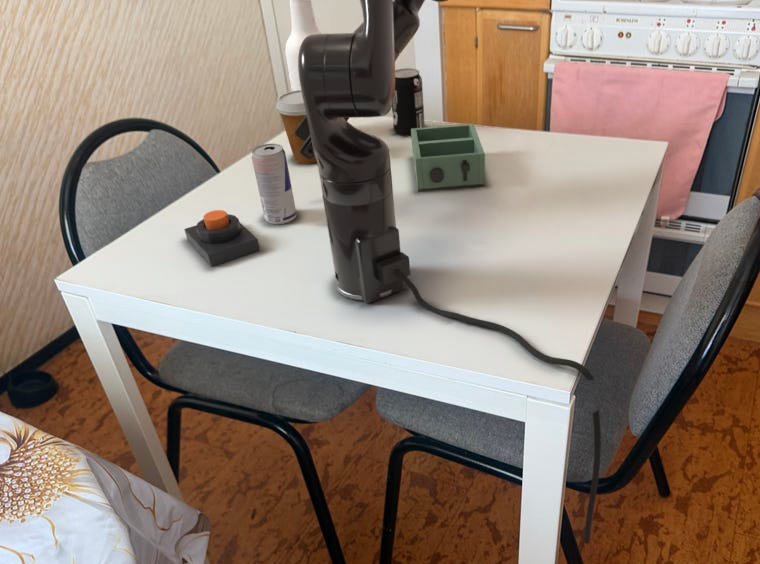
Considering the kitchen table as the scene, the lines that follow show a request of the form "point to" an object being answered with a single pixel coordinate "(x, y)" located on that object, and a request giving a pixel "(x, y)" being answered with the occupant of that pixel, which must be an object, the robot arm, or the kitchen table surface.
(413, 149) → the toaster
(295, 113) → the disposable coffee cup
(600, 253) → the kitchen table surface
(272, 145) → the energy drink
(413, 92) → the beverage can
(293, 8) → the alcohol
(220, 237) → the control box
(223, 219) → the button
